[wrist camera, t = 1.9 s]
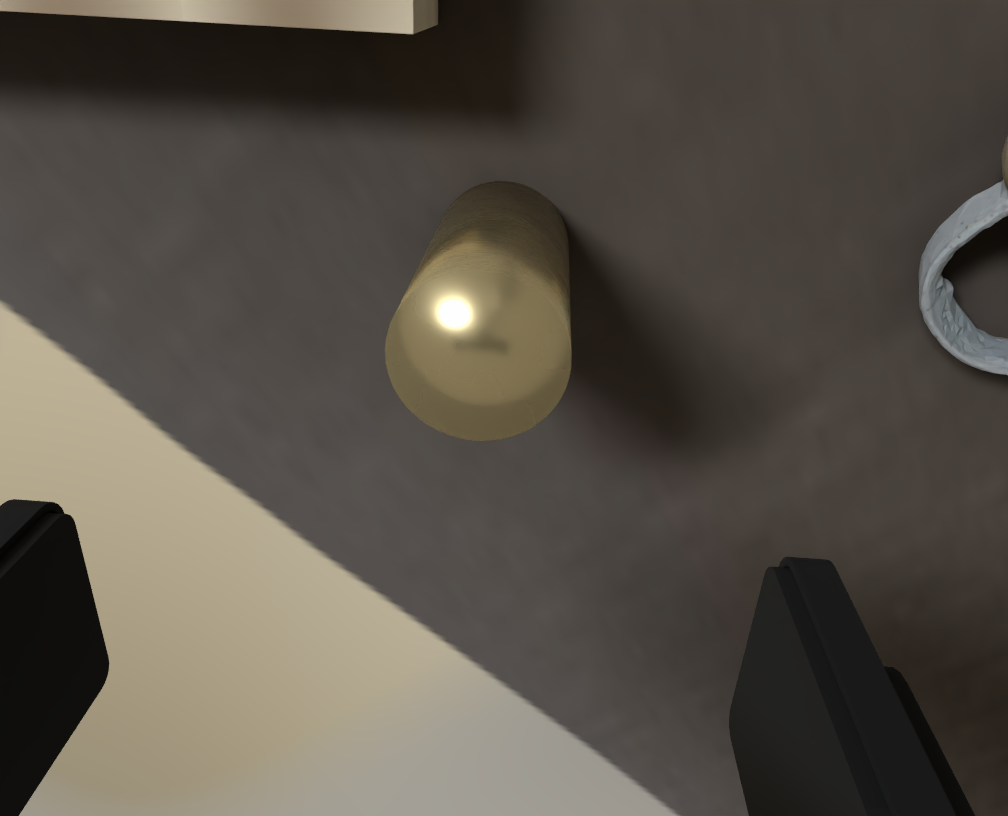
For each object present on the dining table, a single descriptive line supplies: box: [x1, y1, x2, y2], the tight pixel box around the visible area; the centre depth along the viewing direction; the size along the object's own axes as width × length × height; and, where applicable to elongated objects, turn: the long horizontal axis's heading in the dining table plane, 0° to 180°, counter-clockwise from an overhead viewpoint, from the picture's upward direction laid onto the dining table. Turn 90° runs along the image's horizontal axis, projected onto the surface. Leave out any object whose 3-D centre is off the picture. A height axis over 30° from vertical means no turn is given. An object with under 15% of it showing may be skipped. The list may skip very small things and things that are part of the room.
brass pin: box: [385, 181, 572, 441], centre depth 20 cm, size 4×4×8 cm
